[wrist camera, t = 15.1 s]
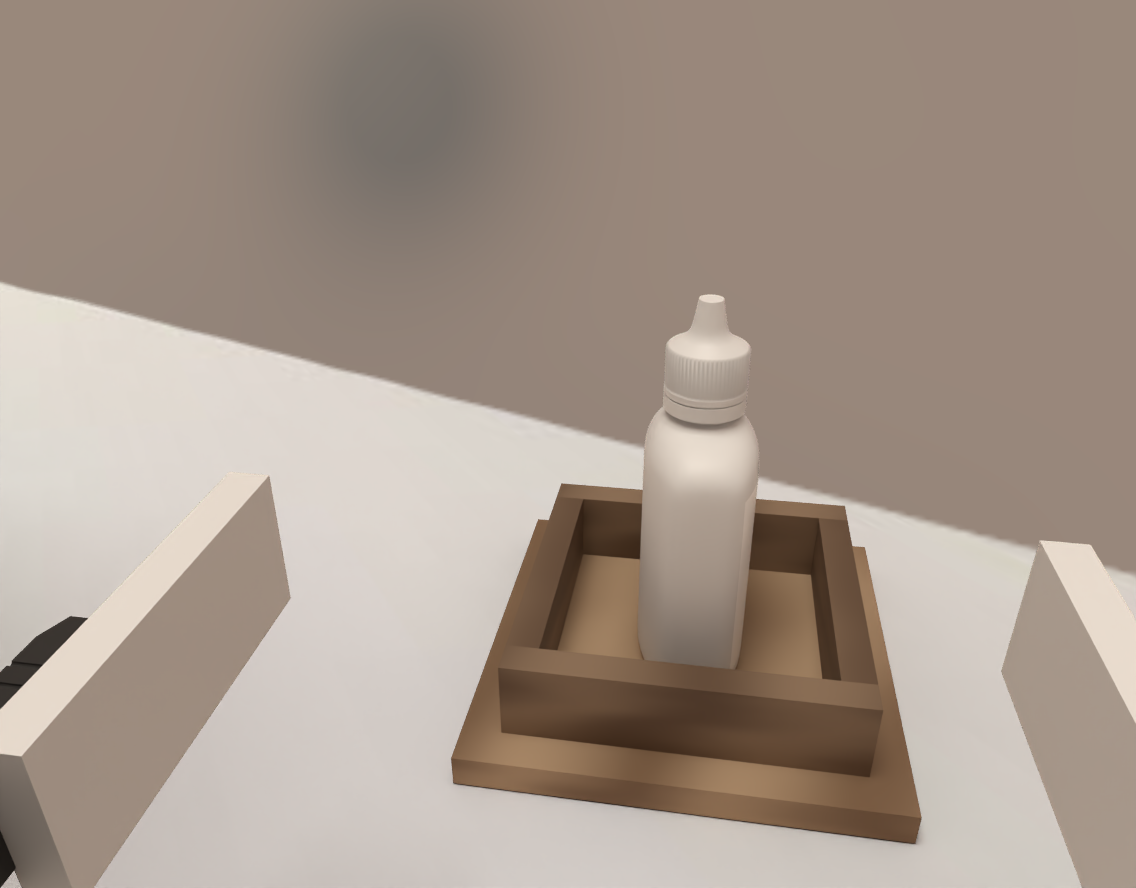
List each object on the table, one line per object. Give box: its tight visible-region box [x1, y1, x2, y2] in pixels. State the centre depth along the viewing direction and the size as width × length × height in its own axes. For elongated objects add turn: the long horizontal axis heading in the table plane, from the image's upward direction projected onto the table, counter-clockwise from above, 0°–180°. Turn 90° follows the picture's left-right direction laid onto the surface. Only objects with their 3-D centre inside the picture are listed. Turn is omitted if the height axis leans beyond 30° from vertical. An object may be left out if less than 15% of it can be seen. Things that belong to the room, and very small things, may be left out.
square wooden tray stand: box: [451, 484, 921, 843], centre depth 31 cm, size 13×13×4 cm
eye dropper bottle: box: [638, 295, 759, 669], centre depth 28 cm, size 4×6×12 cm
